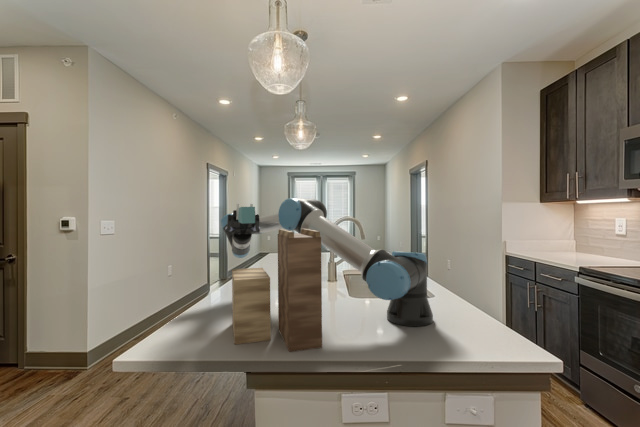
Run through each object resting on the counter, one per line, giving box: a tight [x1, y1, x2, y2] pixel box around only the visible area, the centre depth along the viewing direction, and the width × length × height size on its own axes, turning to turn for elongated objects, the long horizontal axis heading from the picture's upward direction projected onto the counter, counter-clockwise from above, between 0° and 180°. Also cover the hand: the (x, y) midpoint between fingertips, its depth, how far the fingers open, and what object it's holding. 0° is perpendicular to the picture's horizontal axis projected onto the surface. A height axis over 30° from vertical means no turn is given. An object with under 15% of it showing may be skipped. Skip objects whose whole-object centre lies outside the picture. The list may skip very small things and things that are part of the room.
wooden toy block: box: [231, 267, 272, 345], centre depth 100 cm, size 18×10×18 cm, turn 17°
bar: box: [238, 206, 256, 223], centre depth 111 cm, size 26×4×5 cm, turn 17°
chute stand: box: [277, 229, 323, 353], centre depth 94 cm, size 17×9×32 cm, turn 17°
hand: (244, 207), depth 114 cm, fingers closed on bar, 4 cm apart
